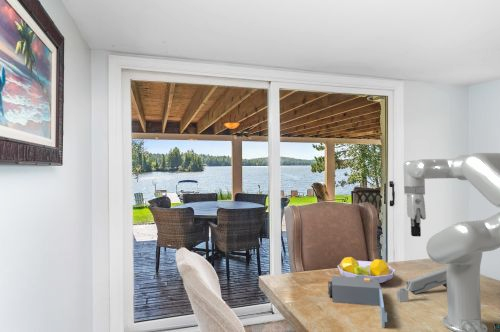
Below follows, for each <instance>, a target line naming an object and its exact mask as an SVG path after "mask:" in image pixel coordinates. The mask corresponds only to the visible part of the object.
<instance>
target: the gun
mask: <svg viewBox="0 0 500 332" xmlns="http://www.w3.org/2000/svg"><path fill="white" fill-rule="evenodd" d="M446 274H447V267H444V268H440V269H437V270H435V271H432V272H429V273H426V274H423V275H420V276H417V277H414V278H411V279H408V280H407V281H406V285H407V284H408V282H409V280H410V281H412V282H414V286H413V288H412V291H411V292H410V293H411V294H413V295H417V294H420V293H423V292H426V291H428V290H429V291H430V290H431V289H435V288H438V287H441V286H442V287H445V288H446V289H447V276H446Z"/></svg>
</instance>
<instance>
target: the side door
mask: <svg viewBox="0 0 500 332" xmlns="http://www.w3.org/2000/svg"><path fill="white" fill-rule="evenodd" d="M378 307H379V310H380V312H379V313H380V320H381V328H385V327H386V325H385V323H387V322H388V312H387V311H385V305H384V299H383V290H382V288H381V289H379V306H378Z"/></svg>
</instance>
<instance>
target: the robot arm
mask: <svg viewBox="0 0 500 332" xmlns="http://www.w3.org/2000/svg"><path fill="white" fill-rule="evenodd" d="M429 179H458V180H459V181H468V182H469V183H470V184H471V186H473V187H474V188H475V189H476V190H477V191H478V192H479V193H480V194H481V195H482V196H483V197H484V198H485V199H486V200H488V201H489V203H490V204H492V205H494V206H495V207H497V208H499V209H500V152H498V153H497V152H477V153H476V152H475V153H471V154H466V155H465V154H463V155H459V156H456V157H455V158H441V159H440V158H439V159H438V158H425V159H417V160H406V161H404V163H403V189H404V192H403V193H404V195H406V215H407V217H408V218H409V219H410V235H411V237H421V236H422V235H421V233H422V232H421V230H422V229H421V228H422V227H421V220H426V219H427V218H426V217H427V215H426V214H427V213H426V204H425V203H426V202H425V195H426V188H425V187H426V185H425V184H426V183H425V181H426V180H429ZM499 248H500V211H499V212H497V213H495V214H494V215H491V216H489V217H488V218H485V219H482V220H481V219H479V220H471V221H470V220H469V221H460V222H456V223H454V224H452V225H449V226H447V227H446V228H444V229H443V230H441V231H439V232H436V233H435V234H433V235H432V236H431V237H430V238H429V239H428V241H427V242H426V248H425V249H426V254H427V255H428V257H429V258H430V259H431V260H432V261H433V262H435V263H437V264H440V265H447V267H446V268H447V274H446V276H447V288H446V300H447V301H446V302H447V303H446V305H447V307H446V308H447V315H445V316H444V317H443V318H442V324H443V325H444V326H445V327H446V328H447V329H449V330H451V331H454V332H488V326H487V325H486V324H484V323H483V322H482V302H481V300H482V299H481V298H482V297H481V264H482V259H483V253H484V252H492V251H494V250H497V249H499Z"/></svg>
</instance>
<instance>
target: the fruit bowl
mask: <svg viewBox="0 0 500 332" xmlns="http://www.w3.org/2000/svg"><path fill="white" fill-rule="evenodd" d="M337 269H338V270H339V272H340V274H341V275H340V276H343V277H359V278H375V279H378V282H379V284H383V283H385V282H387V281H389V280H391V279H393V276H394V274H395V272H396V269H395V268H393V267H392V266H390V265H388V263H387V262H386V260H384V259H377V258H376V259H374V260H372V261H367V260H356V259H355V258H354V257H352V256H347V257H344V258H342V260H341V261H340V263H339V264H338V265H337Z"/></svg>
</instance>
